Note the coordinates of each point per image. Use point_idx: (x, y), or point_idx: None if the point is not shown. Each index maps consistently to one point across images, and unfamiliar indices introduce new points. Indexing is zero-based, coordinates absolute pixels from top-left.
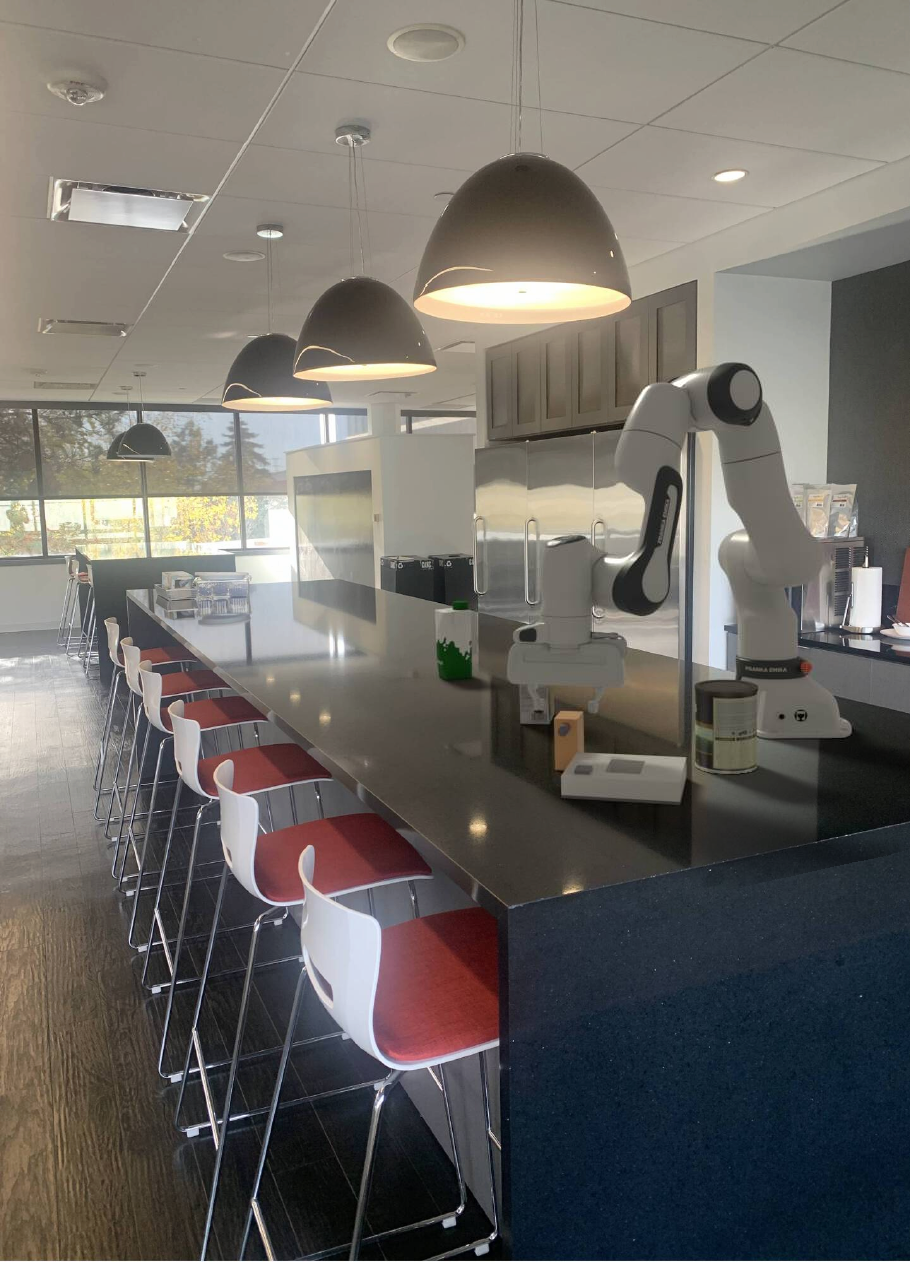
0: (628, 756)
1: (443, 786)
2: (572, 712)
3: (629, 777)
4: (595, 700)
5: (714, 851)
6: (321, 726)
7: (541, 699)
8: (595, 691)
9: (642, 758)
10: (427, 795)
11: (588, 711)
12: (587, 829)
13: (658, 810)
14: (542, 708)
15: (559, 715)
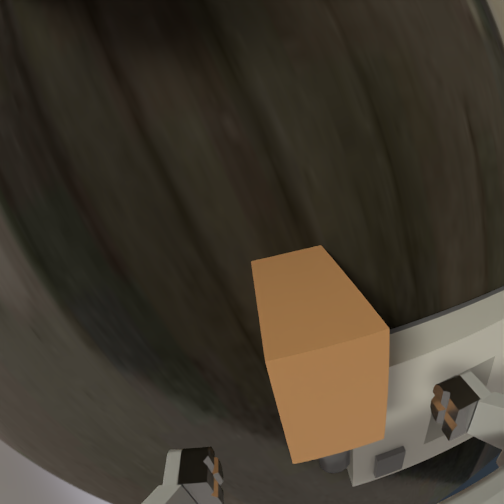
0: (470, 346)
1: (131, 472)
2: (340, 367)
3: (458, 438)
4: (481, 435)
5: (490, 455)
6: None
7: (207, 496)
8: (500, 464)
9: (493, 344)
10: (144, 495)
11: (432, 412)
12: (392, 491)
13: None
14: (220, 469)
15: (296, 429)
